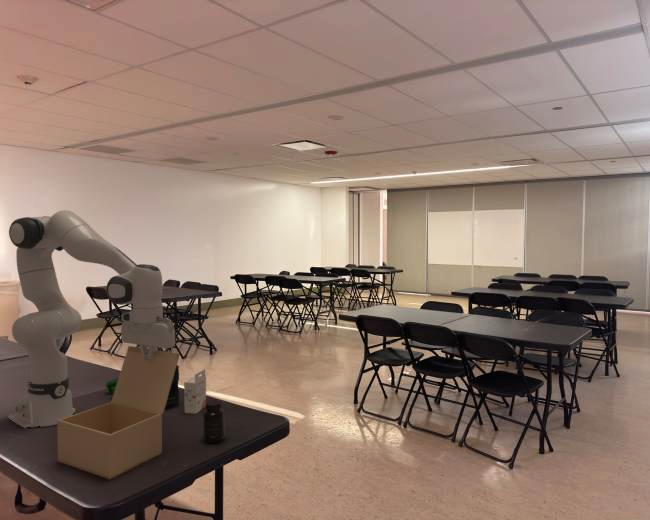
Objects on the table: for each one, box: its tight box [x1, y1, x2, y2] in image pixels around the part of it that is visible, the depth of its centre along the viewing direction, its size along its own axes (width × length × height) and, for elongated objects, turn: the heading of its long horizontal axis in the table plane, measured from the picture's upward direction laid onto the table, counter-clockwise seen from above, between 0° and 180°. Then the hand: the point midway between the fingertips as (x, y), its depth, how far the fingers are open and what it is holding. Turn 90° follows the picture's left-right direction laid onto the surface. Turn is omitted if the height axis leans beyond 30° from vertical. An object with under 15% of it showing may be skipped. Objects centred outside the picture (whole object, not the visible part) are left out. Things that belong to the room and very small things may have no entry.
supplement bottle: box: [202, 400, 225, 444], centre depth 151 cm, size 7×7×12 cm
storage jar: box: [164, 364, 180, 411], centre depth 182 cm, size 10×10×15 cm
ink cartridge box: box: [183, 369, 207, 415], centre depth 178 cm, size 9×5×15 cm, turn 168°
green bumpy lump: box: [105, 377, 119, 396], centre depth 194 cm, size 12×6×9 cm, turn 36°
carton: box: [56, 401, 163, 480], centre depth 138 cm, size 22×18×12 cm
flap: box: [110, 345, 181, 415], centre depth 149 cm, size 22×18×1 cm
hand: (148, 359), depth 149 cm, fingers closed, pressing on flap
